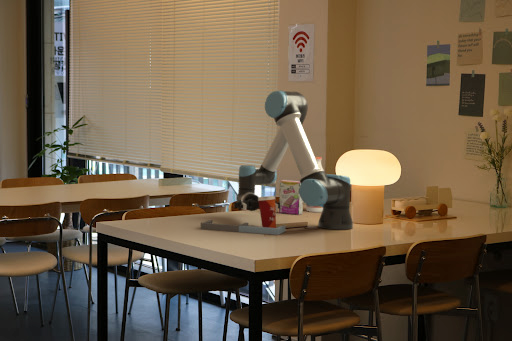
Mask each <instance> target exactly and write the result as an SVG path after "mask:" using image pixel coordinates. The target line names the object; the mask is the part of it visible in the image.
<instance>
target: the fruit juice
mask: <svg viewBox="0 0 512 341" xmlns="http://www.w3.org/2000/svg"><path fill="white" fill-rule="evenodd" d="M315 158H316V160H317V163H318V165H319V168H320V169H322V170H324V168H323V166H322V160H323V158H322V156H315ZM305 204H306V203H305ZM305 211H306V212H308V211H309V212H308V213H322V211H323V205H322V206H318V207H316V206H309V205H307V204H306V210H305Z"/></svg>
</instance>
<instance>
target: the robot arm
mask: <svg viewBox="0 0 512 341" xmlns="http://www.w3.org/2000/svg"><path fill="white" fill-rule="evenodd" d="M308 108H309V104H308V101H307V98H306V97H305V96H304V94H302V93H300V92H298V91H284V90H274V91H272V92H270V93H269V94H268V95H267V97H266V99H265V101H264V110H265V113H266V115H267V116H268V117H270V118H273V119H274V122H275V124H276V126H277V127H279V128H278V130H277V132H276V134H275V137H274V139H273V140H272V143H271V144H270V146H269V148H268V150H267V153H266V154H265V157H264V159H263V160H262V163H261V165H260V167H259V168H256V166H255V165H252V164H245V165H244V164H242V165H240V166H239V169H238V193H237V195H236V201H235V202H234V203H233V204H234V205H233V209H238V211H244V212H246V211H250V212H255V211H257V210H259V209H260V208H259V201H258V198H259V197H260V196H258V195H257V194H255V192H256V186H262V185H265V186H266V185H271V184H274V183H275V182H276V181H277V179H278V177H277V176H278V174H277V170H278V168H279V166H280V164H281V163H282V162H281V161H282V160H283V158H284V156H285V154H286V152H287V151H288V150H287V149H288V148H289V150H290V152H291V154H292V157H293V159H294V161H295V164H296V166H297V169H298V171H299V174H300V177H299V181H300V183H301V185H300V189H299V194H300V197H301V199H302V200H303V204H304V203H305V204H307V205H309V206H316V207H318V206H322V205H323V211H322V212H320V213H321V214H320V216H319V219H318V223H317V224H318V228H322V229H327V230H350V229H353V228H354V221H353V218H352V215H351V212H350V202H351V186H352V184H351V178H350V177H349V176H347V175H338V174H330V173H329V174H328V173H326V171H325V170H324V169H323V170H322V169H320V168H319V165H318V163H317V160H316V158H315V157H316V156H315V153H314V150H313V149H312V146H311V144H310V141H309V139H308V137H307V133H306V132H305V130H304V128H303V123H304V121H305V119H306V118H307V116H308V112H309V111H308ZM279 208H280V203H279V201H277V200H275V209H276V211H277V212H279Z"/></svg>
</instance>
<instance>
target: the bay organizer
mask: <svg viewBox="0 0 512 341" xmlns="http://www.w3.org/2000/svg"><path fill="white" fill-rule="evenodd" d="M200 230H212V231H223V232H224V231H225V232H233V233H235V232H237V233H238V232H239V233H249V234H262V235H274V236H279V235H280V234H283V233H285V232H286V225H285V224H283V225H281V226H280V225H279V226H277V227H276V228H267V227H262V226H253V225H252V226H250V225H249V222H244V223H241V224H238V225H237V224H225V223H213V219H209V220H205V221H203V222H200Z"/></svg>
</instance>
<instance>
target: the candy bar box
mask: <svg viewBox="0 0 512 341" xmlns="http://www.w3.org/2000/svg"><path fill="white" fill-rule="evenodd" d="M300 185H301V183H300V180H299V181H298V180H289V179H282V180H280V181H279V197H278V198H279V199H278V200H279V201H278V202H279V203H280V208H279V209H278V213H279V214H285V215H286V214H287V215H297V216H300V215H303V212H304V211H303V207H304V206H303V205H304V202H303V200H302V199H301V197H300V194H299V189H300Z"/></svg>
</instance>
